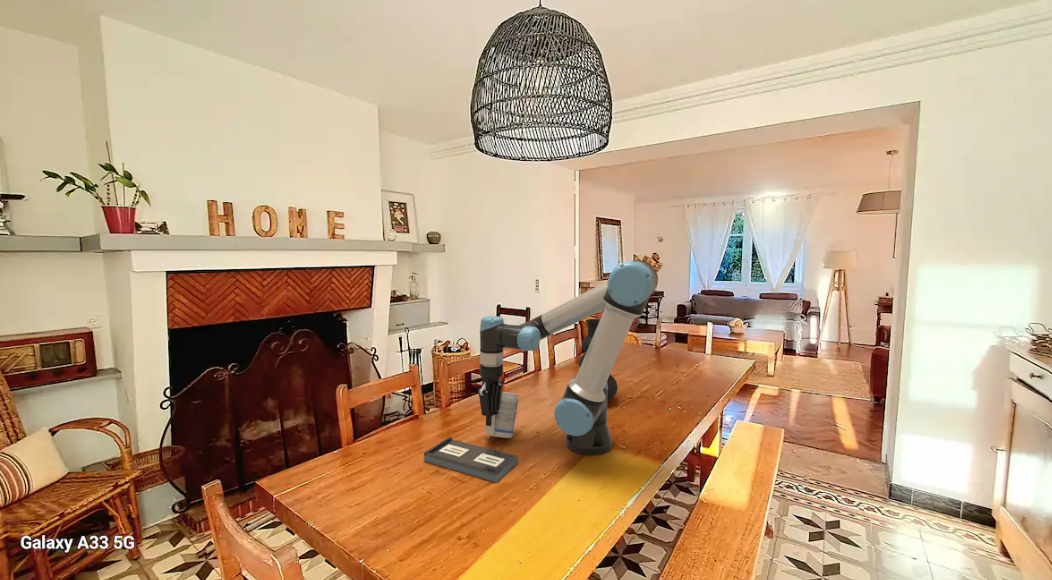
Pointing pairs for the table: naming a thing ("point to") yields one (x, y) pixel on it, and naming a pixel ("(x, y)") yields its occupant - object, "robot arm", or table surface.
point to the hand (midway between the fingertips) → (490, 434)
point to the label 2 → (489, 460)
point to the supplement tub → (506, 415)
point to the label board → (470, 460)
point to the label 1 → (454, 450)
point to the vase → (586, 342)
